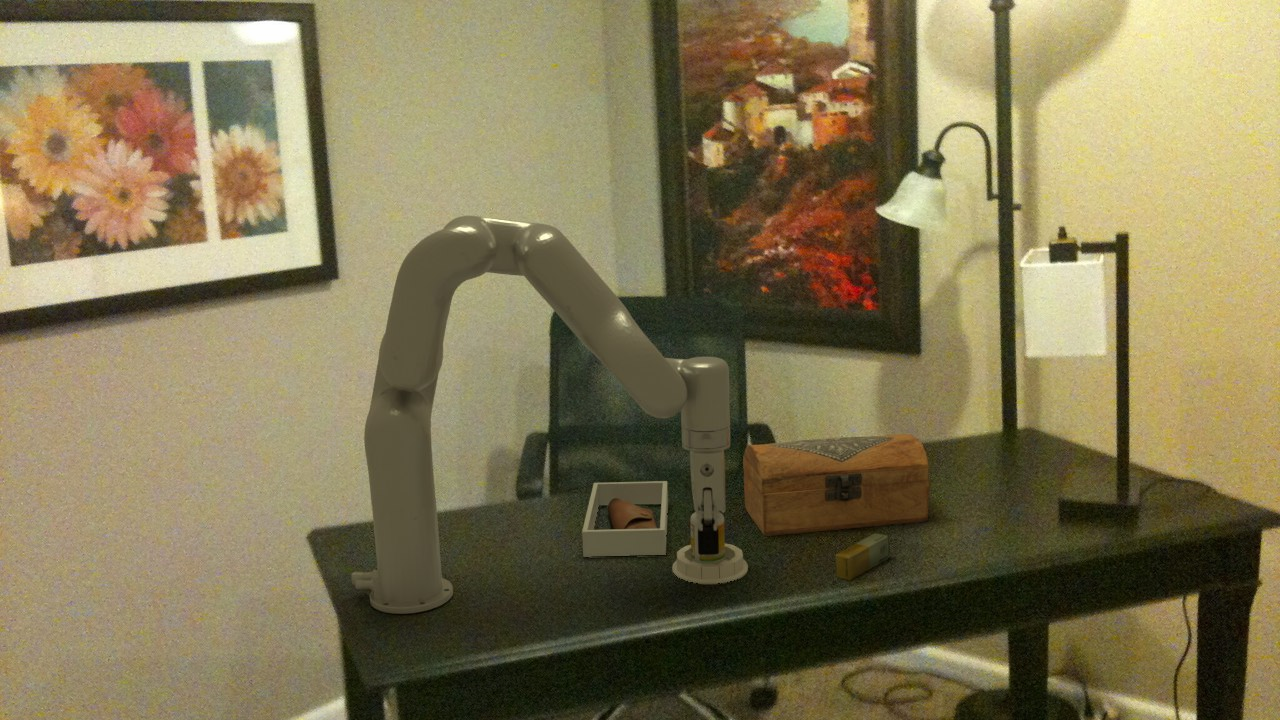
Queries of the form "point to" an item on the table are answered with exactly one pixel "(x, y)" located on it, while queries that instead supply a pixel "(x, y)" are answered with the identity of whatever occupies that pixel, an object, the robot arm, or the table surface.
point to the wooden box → (836, 483)
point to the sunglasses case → (630, 515)
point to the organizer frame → (626, 539)
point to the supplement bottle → (694, 540)
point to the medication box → (862, 556)
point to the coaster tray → (710, 567)
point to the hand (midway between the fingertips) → (708, 545)
